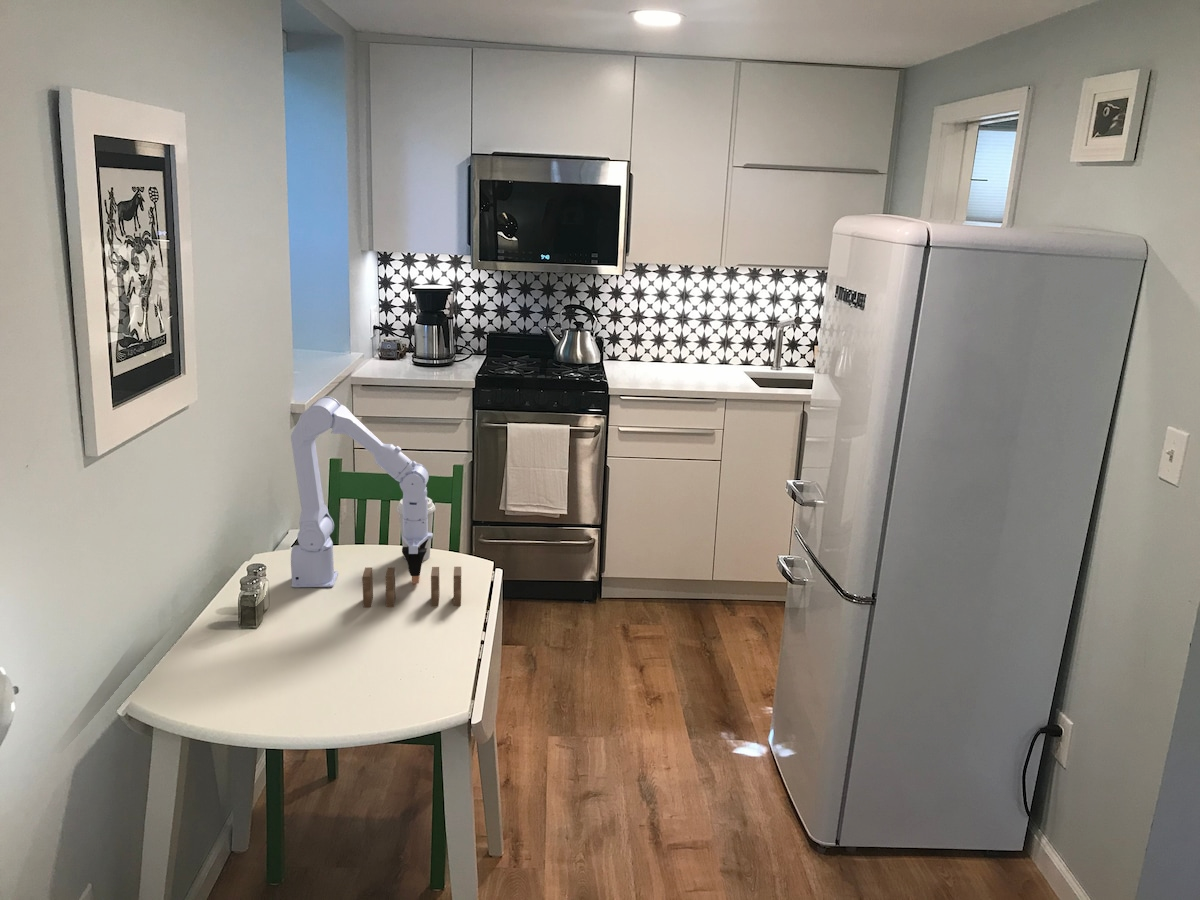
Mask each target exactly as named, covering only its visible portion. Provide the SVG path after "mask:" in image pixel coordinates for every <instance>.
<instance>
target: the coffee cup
mask: <svg viewBox="0 0 1200 900" xmlns="http://www.w3.org/2000/svg"><path fill="white" fill-rule="evenodd" d="M402 499H403V498H401V499H400V500H399V503H398V504H397V507H396V511H397V513H398V519H399V527H400V536H401V543H402V547H408V546H407V544H406V543H405V541H404V540H403V538H402V534H403V500H402ZM427 499H428V533H433V522H434V521H433V519H434V512H435V511H436V506H435V504H434V502H433V499H431V498H430V497H428V496H427ZM431 544H432V538H429V539H428V541H427V543H426V546H425V548H427V551H426V554H425V555H424V557H423V560H422V562H423V561H427V560H428V559H430V557H431V556H430V555H431V547H432V546H431ZM403 558H405V556H404V555H403ZM405 560H406V558H405Z"/></svg>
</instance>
